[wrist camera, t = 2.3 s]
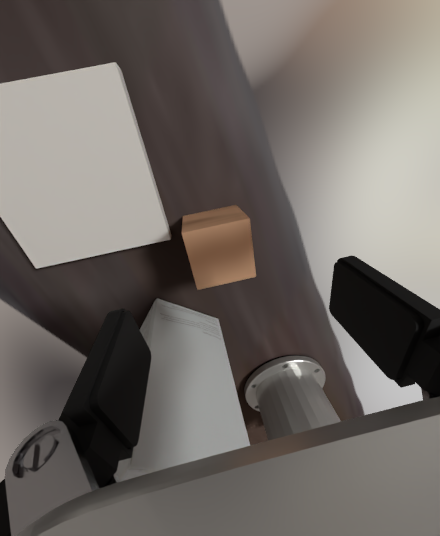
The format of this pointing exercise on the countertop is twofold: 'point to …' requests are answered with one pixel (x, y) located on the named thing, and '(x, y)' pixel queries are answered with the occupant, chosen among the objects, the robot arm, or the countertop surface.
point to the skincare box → (185, 393)
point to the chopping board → (75, 167)
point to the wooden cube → (219, 246)
